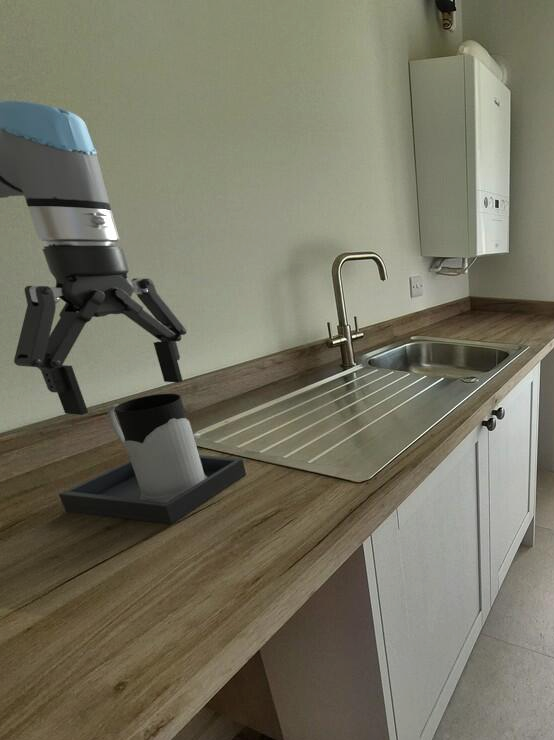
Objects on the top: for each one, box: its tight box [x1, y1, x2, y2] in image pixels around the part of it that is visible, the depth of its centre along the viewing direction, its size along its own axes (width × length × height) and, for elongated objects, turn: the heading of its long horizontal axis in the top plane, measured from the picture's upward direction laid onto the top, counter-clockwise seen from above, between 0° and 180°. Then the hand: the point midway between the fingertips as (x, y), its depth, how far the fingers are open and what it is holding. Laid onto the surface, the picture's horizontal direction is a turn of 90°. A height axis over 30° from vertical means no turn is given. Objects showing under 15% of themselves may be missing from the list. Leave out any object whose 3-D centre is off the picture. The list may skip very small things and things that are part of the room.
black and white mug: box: [107, 393, 207, 502], centre depth 63 cm, size 9×14×15 cm, turn 73°
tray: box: [58, 454, 247, 525], centre depth 65 cm, size 19×14×3 cm
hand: (130, 395), depth 60 cm, fingers open, 13 cm apart
